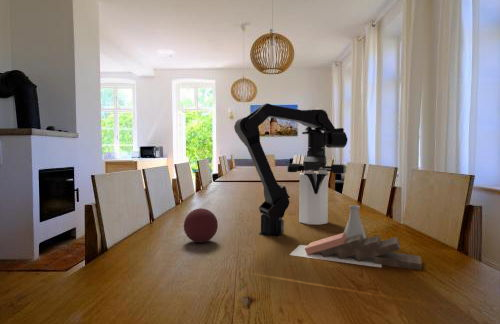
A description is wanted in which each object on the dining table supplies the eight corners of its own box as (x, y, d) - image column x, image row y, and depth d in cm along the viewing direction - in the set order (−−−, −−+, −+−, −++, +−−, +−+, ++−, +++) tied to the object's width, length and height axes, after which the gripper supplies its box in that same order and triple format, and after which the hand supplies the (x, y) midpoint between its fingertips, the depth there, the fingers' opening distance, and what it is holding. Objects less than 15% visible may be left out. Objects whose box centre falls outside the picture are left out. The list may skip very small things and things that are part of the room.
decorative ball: (224, 241, 98) (224, 208, 98) (198, 249, 91) (197, 213, 90) (203, 235, 105) (203, 204, 104) (177, 242, 98) (176, 208, 97)
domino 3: (337, 252, 81) (377, 241, 78) (341, 246, 87) (378, 235, 83) (340, 259, 81) (380, 247, 77) (343, 252, 87) (381, 241, 83)
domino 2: (320, 250, 83) (359, 239, 79) (325, 244, 89) (361, 233, 85) (323, 256, 83) (361, 245, 79) (327, 250, 88) (364, 239, 84)
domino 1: (304, 248, 85) (341, 237, 81) (310, 242, 90) (345, 232, 86) (307, 254, 85) (344, 243, 81) (312, 248, 90) (347, 237, 86)
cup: (332, 221, 127) (332, 173, 126) (322, 226, 118) (322, 175, 117) (305, 217, 133) (305, 172, 132) (293, 222, 124) (293, 173, 123)
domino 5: (374, 256, 78) (421, 264, 74) (375, 249, 83) (419, 256, 79) (373, 263, 78) (421, 271, 74) (375, 255, 83) (419, 262, 79)
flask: (368, 241, 99) (368, 208, 98) (343, 240, 100) (343, 207, 100) (364, 235, 106) (365, 204, 105) (341, 234, 107) (341, 203, 107)
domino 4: (354, 254, 80) (396, 243, 76) (357, 248, 85) (396, 236, 81) (357, 261, 80) (399, 249, 76) (360, 254, 85) (399, 243, 81)
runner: (289, 256, 84) (289, 254, 84) (300, 246, 94) (300, 244, 94) (381, 269, 75) (381, 267, 75) (383, 256, 85) (383, 254, 85)
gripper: (282, 147, 107) (282, 195, 108) (341, 147, 100) (340, 198, 100) (292, 147, 117) (292, 191, 118) (346, 147, 110) (345, 194, 110)
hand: (316, 193), depth 111 cm, fingers closed
